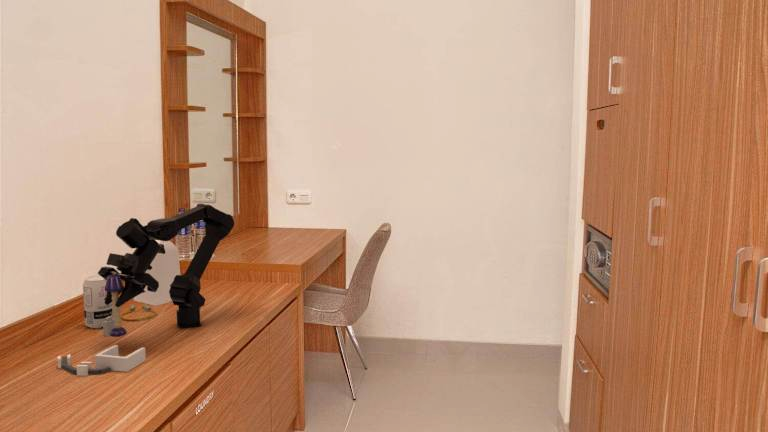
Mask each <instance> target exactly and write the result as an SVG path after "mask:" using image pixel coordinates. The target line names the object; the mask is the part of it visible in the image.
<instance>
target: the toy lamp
mask: <svg viewBox="0 0 768 432" xmlns="http://www.w3.org/2000/svg"><path fill="white" fill-rule="evenodd" d="M124 287H125V285H124V284H123V282H122V281H121V278H120V276H119V275H118V274H112V275H109V276H108V277H107V281H106V286H105V291H107V292H111V294H112V301H113V302H112V305H113V312H114V313H113V316H114V322H115V324H114V326H115V328H114V329H112V330H111V332H110V336H109V337H114V338H116V337H117V338H119V337H123V336H125V335H127V333H128V331H127V330H126V328H125V327H122V323H121V321H122V319H121V318H120V315H121V310H120V308H119V307H116V306H115V304H116V302H117V300H118V298H119V295H118V291H120V290H122V289H123V288H124ZM119 310H120V312H119Z"/></svg>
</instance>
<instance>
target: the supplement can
mask: <svg viewBox="0 0 768 432" xmlns="http://www.w3.org/2000/svg"><path fill="white" fill-rule="evenodd" d="M105 286H106V280H105V279H104V278H103V277H101V276H100V275H92V276H88V277H86V278H85V279H84V281H83V283H82V296H83V311H84V312H83V315H84V325H85V326H86V327H87V326H88V327H90V328H89V329H93V328H95V329H102V328H101V327H103V322H104V321H106V317H108V316H111V315H112V310H113V305H112V302H113V301H112V302H111V303H110V304H109V305H106V304H105V299H106V295H107V291H105ZM88 327H87V328H88Z"/></svg>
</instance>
